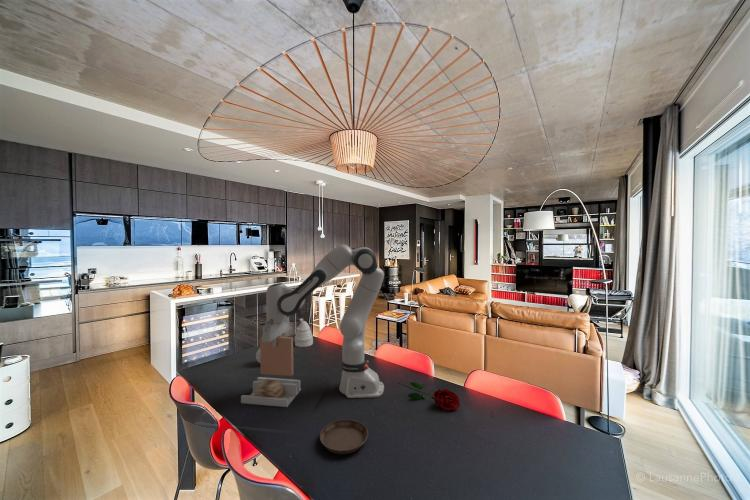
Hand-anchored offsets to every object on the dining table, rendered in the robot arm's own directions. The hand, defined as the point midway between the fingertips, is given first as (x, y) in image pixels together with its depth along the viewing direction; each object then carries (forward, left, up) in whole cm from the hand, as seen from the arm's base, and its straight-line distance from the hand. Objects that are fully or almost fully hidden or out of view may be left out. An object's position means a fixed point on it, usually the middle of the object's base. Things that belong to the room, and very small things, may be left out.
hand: (276, 345), depth 139 cm
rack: (0, +4, -24) cm, 24 cm away
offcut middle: (0, +7, -20) cm, 21 cm away
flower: (-72, -3, -24) cm, 76 cm away
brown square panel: (0, 0, -14) cm, 14 cm away
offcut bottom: (0, +7, -23) cm, 24 cm away
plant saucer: (-41, +28, -24) cm, 55 cm away
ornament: (+24, -32, -24) cm, 47 cm away
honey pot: (+14, -68, -24) cm, 73 cm away
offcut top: (0, +7, -18) cm, 19 cm away
